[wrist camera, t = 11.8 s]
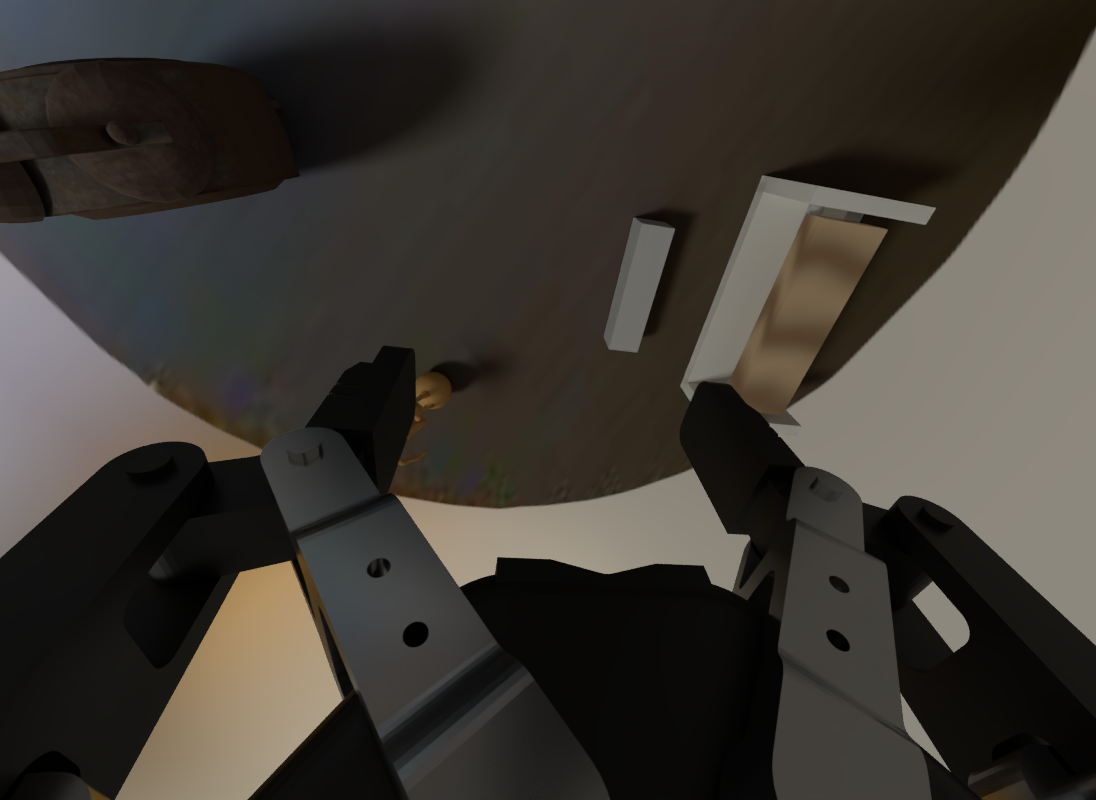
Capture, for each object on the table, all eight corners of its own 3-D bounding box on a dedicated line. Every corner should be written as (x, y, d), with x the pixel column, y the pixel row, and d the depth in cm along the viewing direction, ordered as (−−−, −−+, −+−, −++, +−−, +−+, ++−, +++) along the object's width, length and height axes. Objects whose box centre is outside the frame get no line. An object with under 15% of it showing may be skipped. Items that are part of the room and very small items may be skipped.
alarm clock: (300, 64, 30) (33, -15, 13) (339, 175, 34) (171, 220, 17) (107, 92, 30) (-393, 48, 14) (169, 199, 34) (-159, 266, 18)
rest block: (633, 217, 37) (642, 223, 35) (664, 222, 38) (675, 228, 35) (603, 336, 44) (608, 349, 41) (630, 339, 44) (637, 352, 42)
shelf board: (806, 213, 33) (825, 218, 31) (865, 223, 34) (888, 229, 32) (721, 396, 43) (732, 410, 41) (769, 401, 44) (782, 415, 42)
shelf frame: (762, 175, 36) (817, 185, 29) (861, 193, 38) (936, 208, 31) (680, 385, 48) (706, 427, 41) (758, 394, 49) (795, 435, 43)
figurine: (464, 407, 48) (450, 480, 38) (414, 417, 48) (388, 492, 38) (440, 344, 43) (417, 409, 33) (385, 355, 43) (346, 423, 33)
